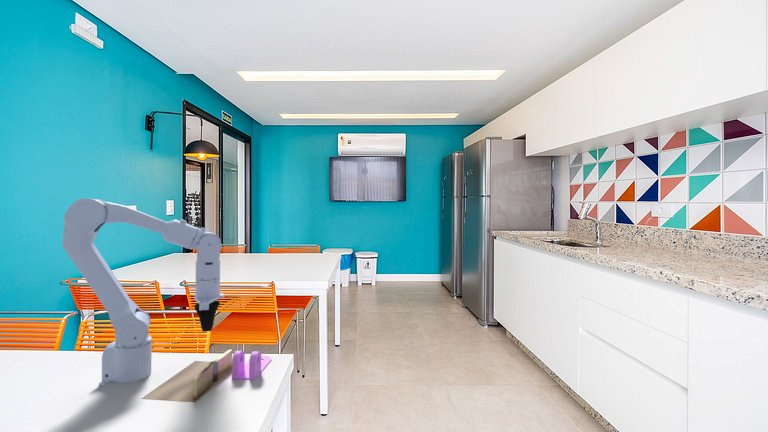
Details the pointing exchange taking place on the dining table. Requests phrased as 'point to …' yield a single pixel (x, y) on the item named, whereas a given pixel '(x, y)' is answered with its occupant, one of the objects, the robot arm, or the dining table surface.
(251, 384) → the dining table surface
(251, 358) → the bracket
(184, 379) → the walnut board
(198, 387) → the swing leaf
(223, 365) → the fixed leaf
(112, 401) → the dining table surface
